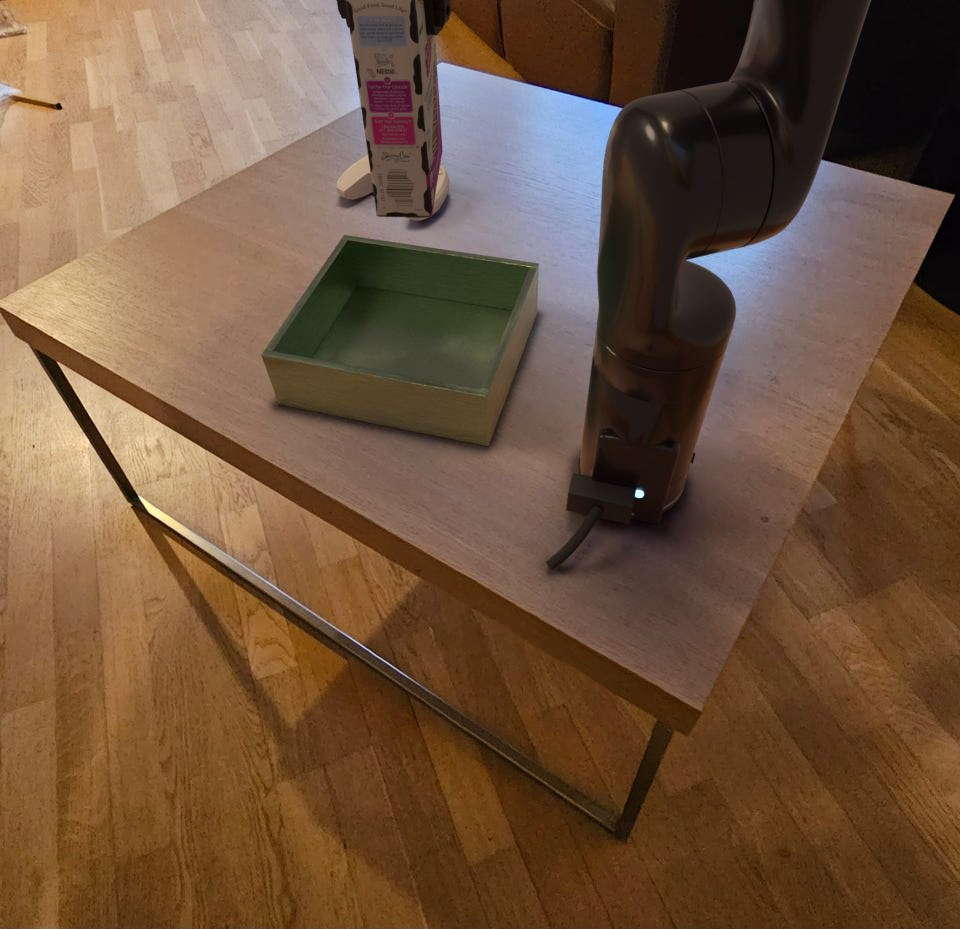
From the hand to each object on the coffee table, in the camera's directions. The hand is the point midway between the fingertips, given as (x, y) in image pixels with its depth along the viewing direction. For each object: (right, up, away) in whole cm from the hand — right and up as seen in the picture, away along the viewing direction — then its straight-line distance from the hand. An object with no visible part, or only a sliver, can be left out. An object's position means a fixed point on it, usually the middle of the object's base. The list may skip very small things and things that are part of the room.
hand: (396, 26), depth 53 cm
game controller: (-4, +2, +41) cm, 41 cm away
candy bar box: (0, -8, +10) cm, 13 cm away
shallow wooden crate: (-1, -21, +22) cm, 30 cm away
